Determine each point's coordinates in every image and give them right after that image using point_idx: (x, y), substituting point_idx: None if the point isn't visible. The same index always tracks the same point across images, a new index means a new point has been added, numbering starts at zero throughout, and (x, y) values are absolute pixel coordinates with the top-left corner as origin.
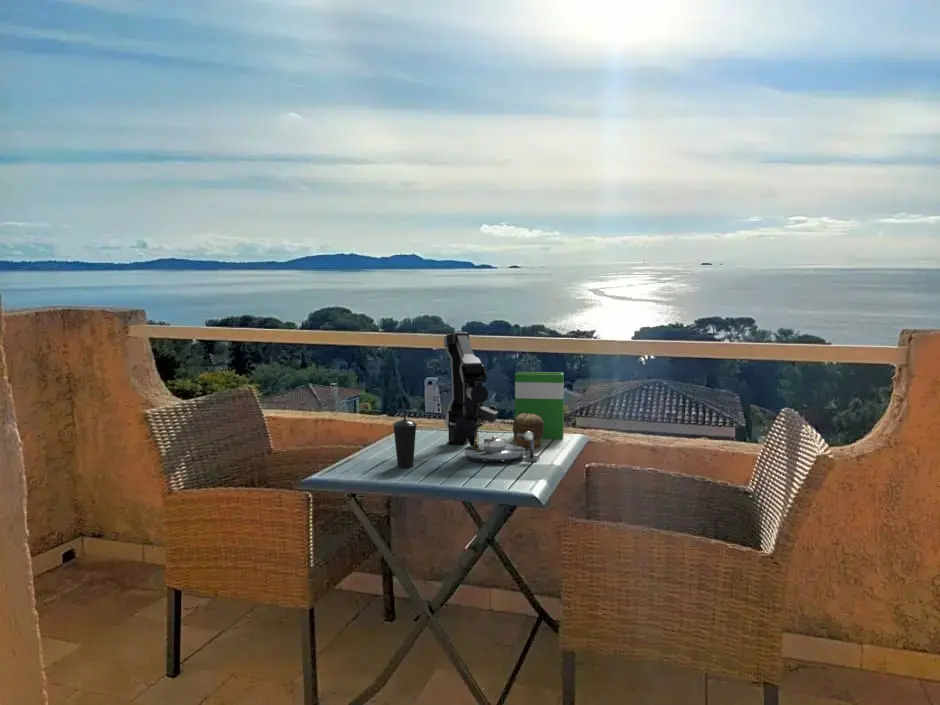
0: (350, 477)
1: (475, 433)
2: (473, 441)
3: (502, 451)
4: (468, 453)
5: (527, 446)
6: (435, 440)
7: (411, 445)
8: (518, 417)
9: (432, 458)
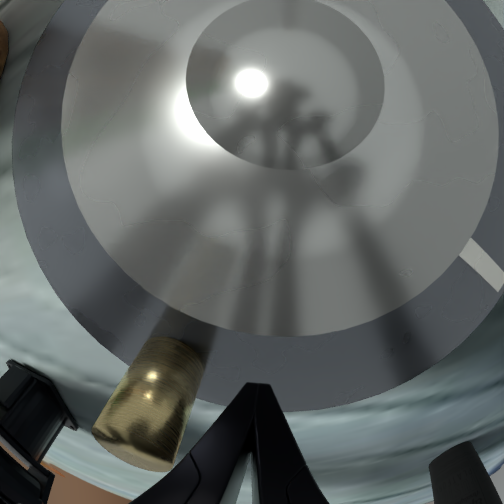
0: (496, 460)
1: (277, 499)
2: (284, 419)
3: None
4: (454, 346)
5: (2, 42)
6: (66, 441)
7: (495, 491)
8: None
9: (346, 456)
